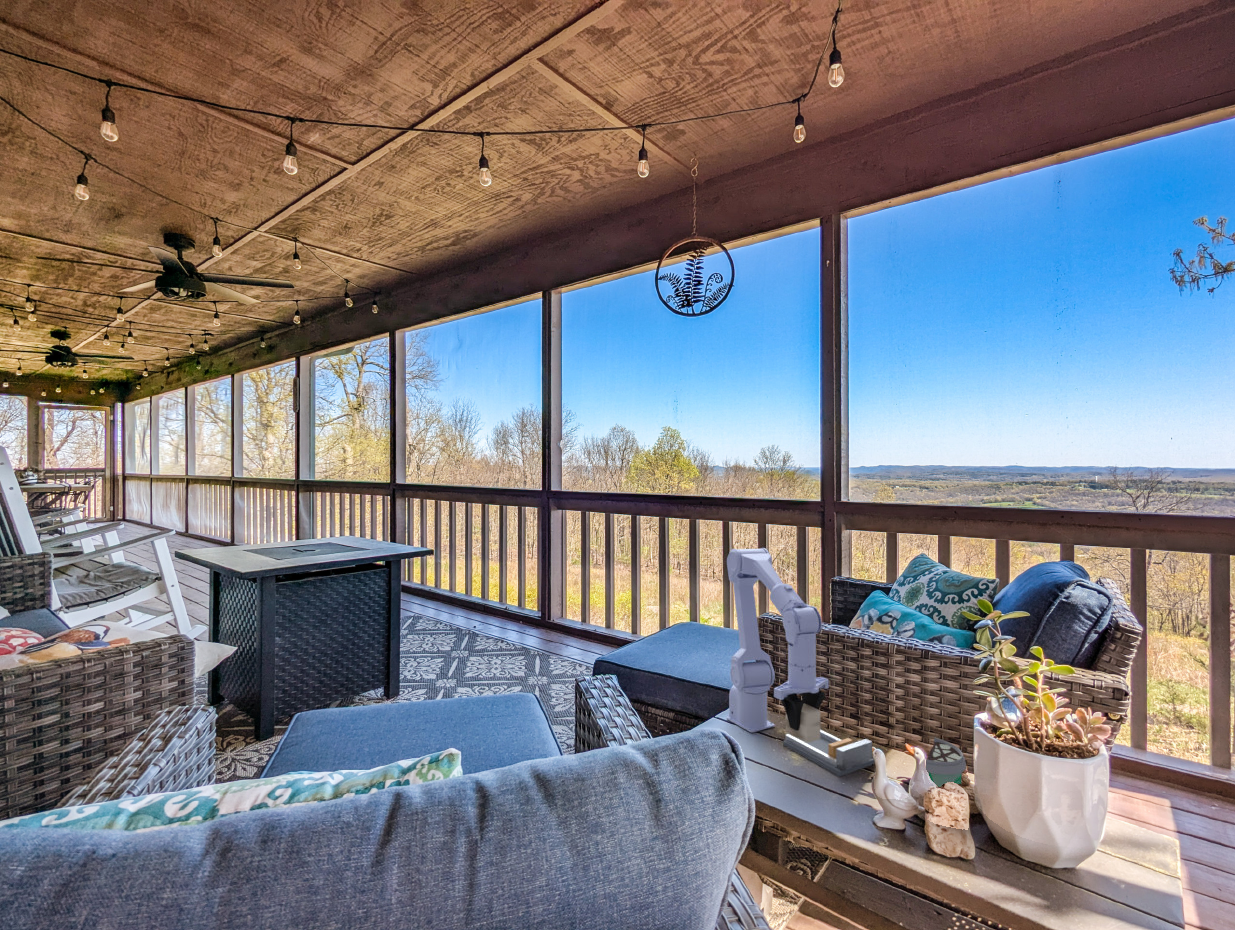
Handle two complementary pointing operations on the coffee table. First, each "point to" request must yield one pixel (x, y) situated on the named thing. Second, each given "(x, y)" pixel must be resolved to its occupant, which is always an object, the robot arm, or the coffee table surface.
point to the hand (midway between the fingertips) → (801, 726)
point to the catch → (838, 746)
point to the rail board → (846, 756)
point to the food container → (945, 763)
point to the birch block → (807, 724)
